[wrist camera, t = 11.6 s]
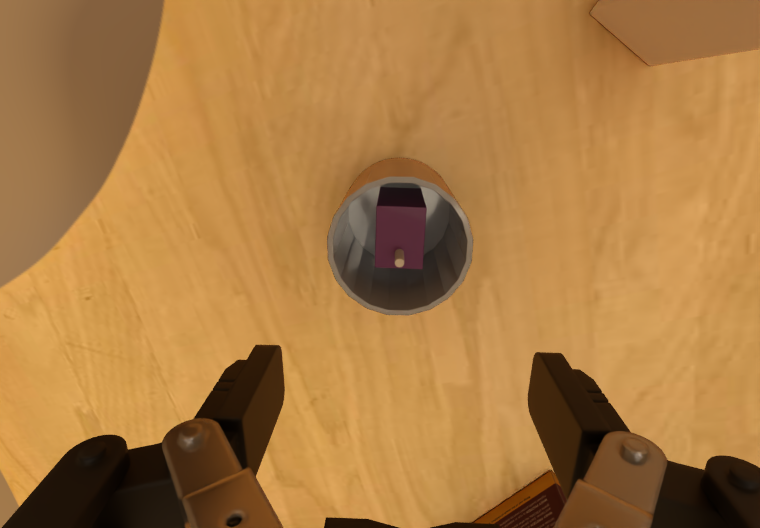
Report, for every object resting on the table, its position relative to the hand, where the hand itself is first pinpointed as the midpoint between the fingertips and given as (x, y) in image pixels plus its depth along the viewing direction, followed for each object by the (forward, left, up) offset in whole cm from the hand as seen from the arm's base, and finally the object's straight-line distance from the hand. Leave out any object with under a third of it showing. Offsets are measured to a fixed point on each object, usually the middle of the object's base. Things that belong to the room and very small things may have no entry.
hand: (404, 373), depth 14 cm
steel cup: (0, 0, -23) cm, 23 cm away
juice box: (0, 0, -23) cm, 23 cm away
